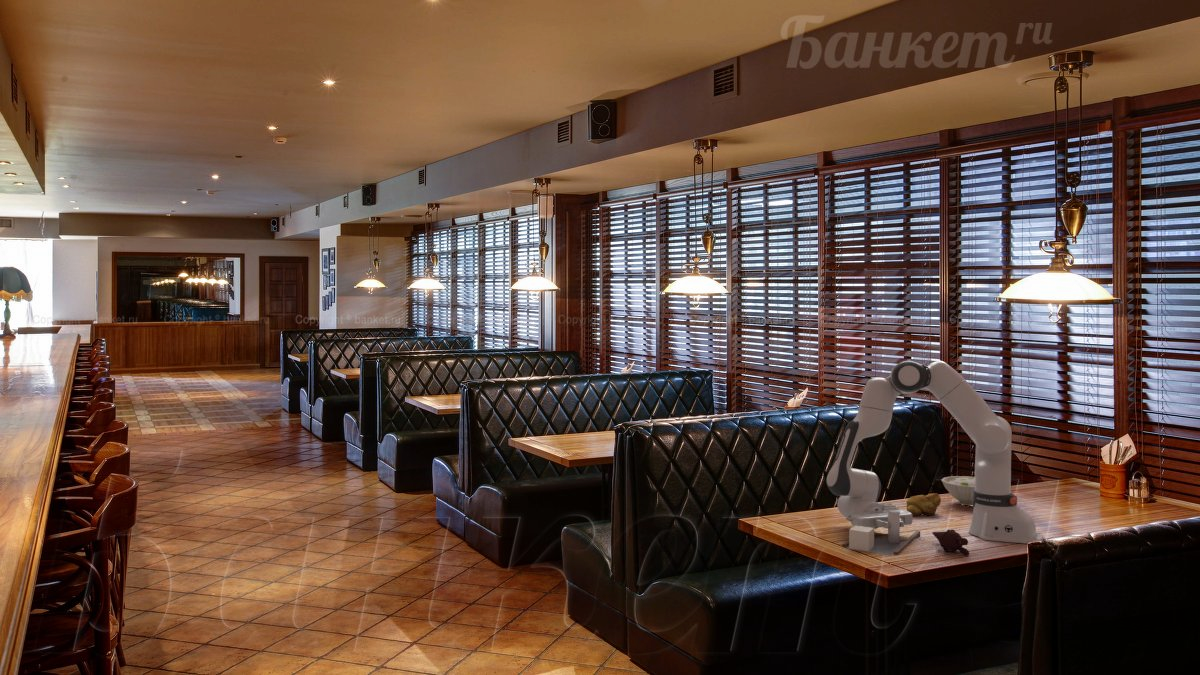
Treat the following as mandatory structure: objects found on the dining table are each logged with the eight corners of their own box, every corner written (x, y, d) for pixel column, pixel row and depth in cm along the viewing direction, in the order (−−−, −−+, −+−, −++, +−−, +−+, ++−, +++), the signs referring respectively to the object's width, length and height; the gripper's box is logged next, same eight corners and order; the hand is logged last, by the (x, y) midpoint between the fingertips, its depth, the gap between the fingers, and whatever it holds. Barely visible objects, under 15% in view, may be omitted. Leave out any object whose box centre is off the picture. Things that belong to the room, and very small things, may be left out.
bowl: (1007, 508, 336) (1007, 482, 335) (960, 511, 332) (960, 484, 331) (975, 497, 355) (975, 472, 354) (931, 500, 351) (931, 474, 350)
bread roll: (915, 519, 323) (916, 496, 322) (897, 513, 332) (897, 491, 331) (943, 515, 328) (943, 493, 327) (924, 509, 337) (924, 488, 336)
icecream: (922, 526, 288) (957, 542, 274) (940, 518, 290) (976, 534, 277) (925, 546, 289) (960, 563, 276) (942, 538, 292) (978, 554, 278)
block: (874, 546, 284) (874, 527, 284) (868, 551, 279) (868, 532, 279) (855, 544, 287) (855, 525, 287) (849, 548, 282) (849, 529, 282)
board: (905, 544, 289) (905, 510, 289) (890, 558, 275) (890, 522, 274) (862, 538, 297) (862, 505, 296) (845, 551, 282) (845, 517, 282)
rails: (920, 537, 299) (920, 531, 299) (897, 558, 275) (897, 552, 275) (868, 530, 308) (868, 524, 308) (842, 550, 285) (842, 543, 285)
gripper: (843, 508, 298) (866, 518, 284) (897, 503, 303) (922, 512, 290) (843, 526, 298) (866, 537, 285) (897, 521, 304) (922, 532, 290)
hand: (895, 525), depth 287 cm, fingers closed on board, 3 cm apart
